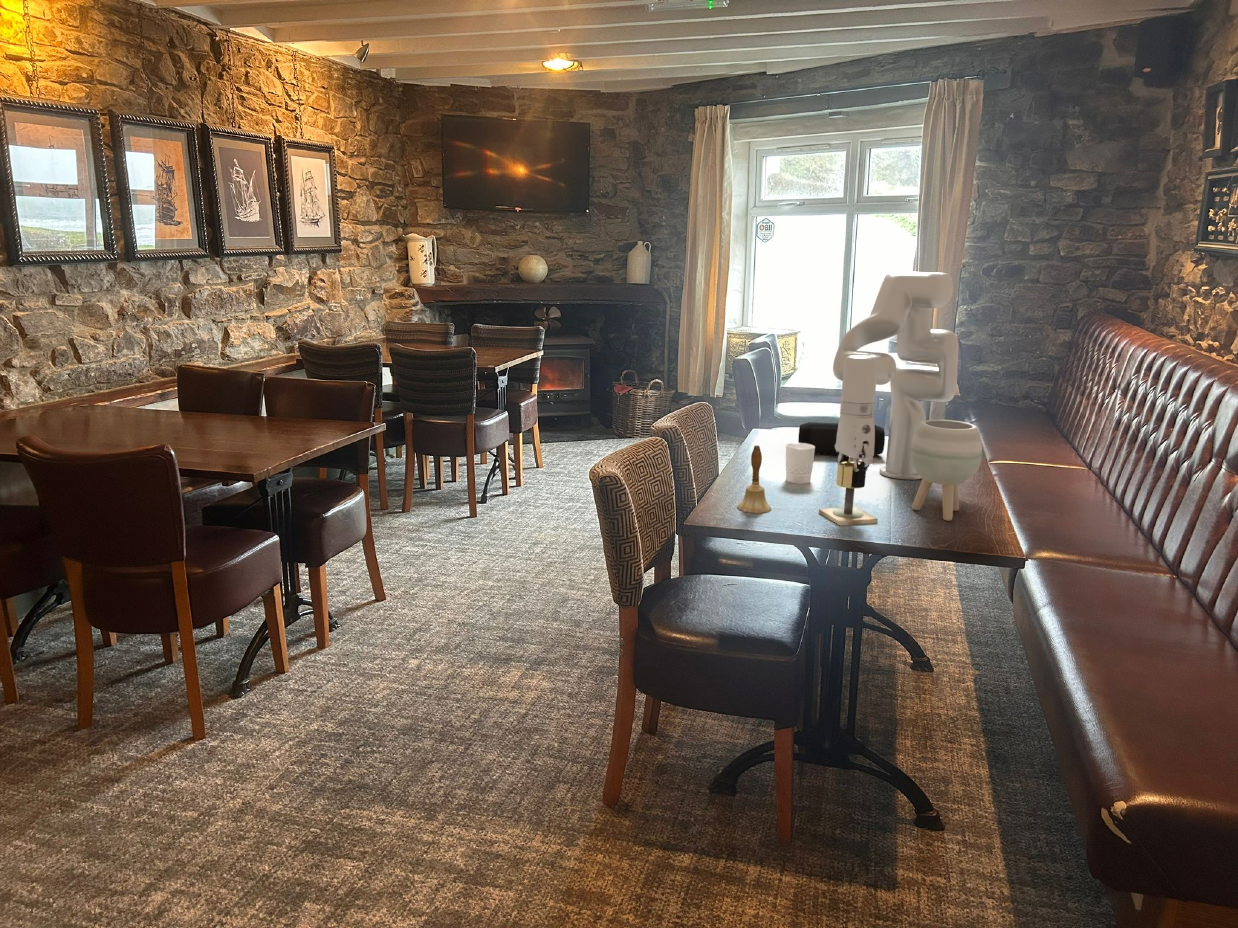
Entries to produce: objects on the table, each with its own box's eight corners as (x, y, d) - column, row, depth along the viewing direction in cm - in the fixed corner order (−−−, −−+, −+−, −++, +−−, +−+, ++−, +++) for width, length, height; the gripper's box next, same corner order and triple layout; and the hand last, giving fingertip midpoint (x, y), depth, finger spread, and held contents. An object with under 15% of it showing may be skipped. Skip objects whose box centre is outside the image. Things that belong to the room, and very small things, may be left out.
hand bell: (763, 515, 206) (767, 451, 202) (731, 509, 210) (735, 446, 206) (776, 507, 212) (780, 444, 209) (745, 501, 217) (748, 440, 213)
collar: (854, 481, 206) (856, 461, 205) (868, 487, 201) (869, 467, 200) (832, 482, 205) (834, 462, 204) (845, 488, 199) (847, 468, 198)
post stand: (855, 510, 211) (857, 481, 209) (877, 522, 201) (880, 492, 200) (818, 512, 208) (821, 483, 206) (839, 525, 199) (841, 494, 197)
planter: (968, 507, 215) (978, 420, 210) (979, 526, 200) (991, 433, 195) (901, 502, 219) (910, 416, 213) (907, 520, 204) (917, 428, 198)
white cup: (812, 485, 233) (815, 449, 231) (783, 483, 235) (785, 448, 232) (812, 478, 241) (814, 443, 238) (783, 476, 242) (786, 442, 240)
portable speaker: (800, 456, 267) (802, 425, 264) (797, 449, 276) (799, 419, 274) (883, 460, 264) (886, 428, 262) (877, 452, 274) (880, 422, 271)
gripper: (891, 415, 191) (884, 492, 196) (852, 402, 207) (846, 473, 212) (862, 416, 189) (855, 494, 194) (824, 403, 205) (818, 475, 210)
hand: (850, 482), depth 203 cm, fingers closed on collar, 6 cm apart
